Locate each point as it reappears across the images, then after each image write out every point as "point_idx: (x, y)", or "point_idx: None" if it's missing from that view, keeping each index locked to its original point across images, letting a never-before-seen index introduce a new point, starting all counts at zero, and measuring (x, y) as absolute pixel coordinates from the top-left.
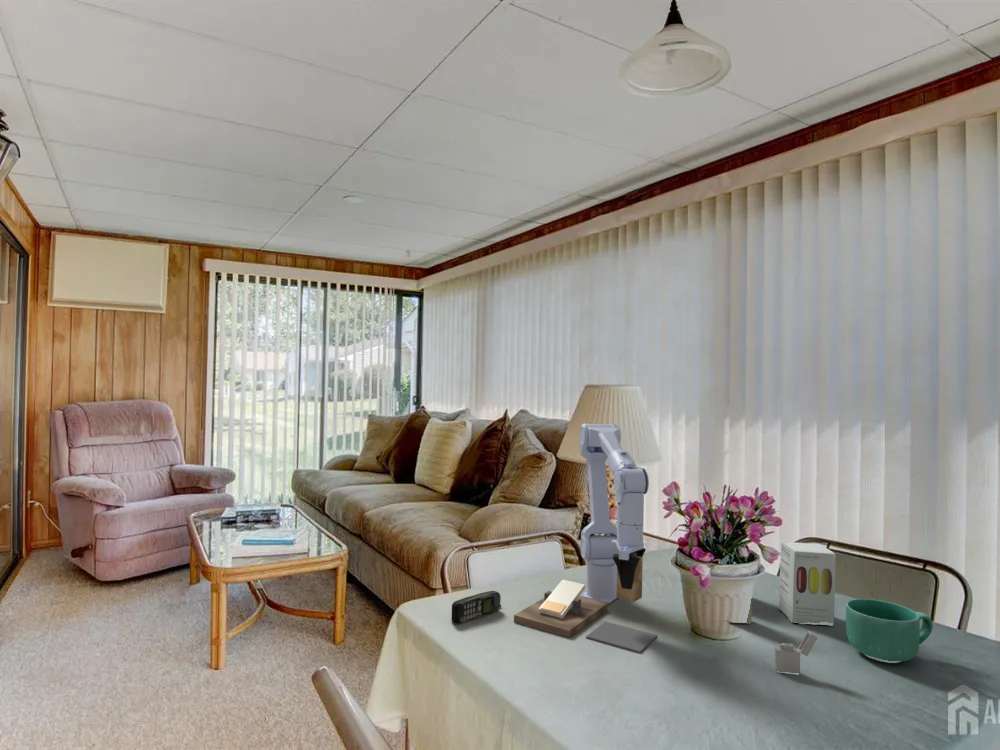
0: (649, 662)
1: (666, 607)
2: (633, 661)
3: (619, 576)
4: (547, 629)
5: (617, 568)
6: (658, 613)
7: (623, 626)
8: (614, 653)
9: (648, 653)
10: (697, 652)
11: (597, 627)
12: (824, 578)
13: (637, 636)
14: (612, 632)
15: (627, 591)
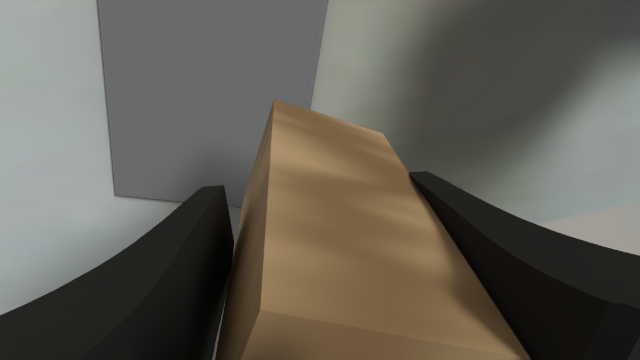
0: (74, 228)
1: (585, 184)
2: (39, 186)
3: (155, 226)
4: None
5: (83, 275)
6: (516, 171)
7: (308, 87)
8: (46, 112)
9: (139, 212)
10: None
11: None
12: None
13: (239, 158)
14: (217, 59)
15: (247, 199)
